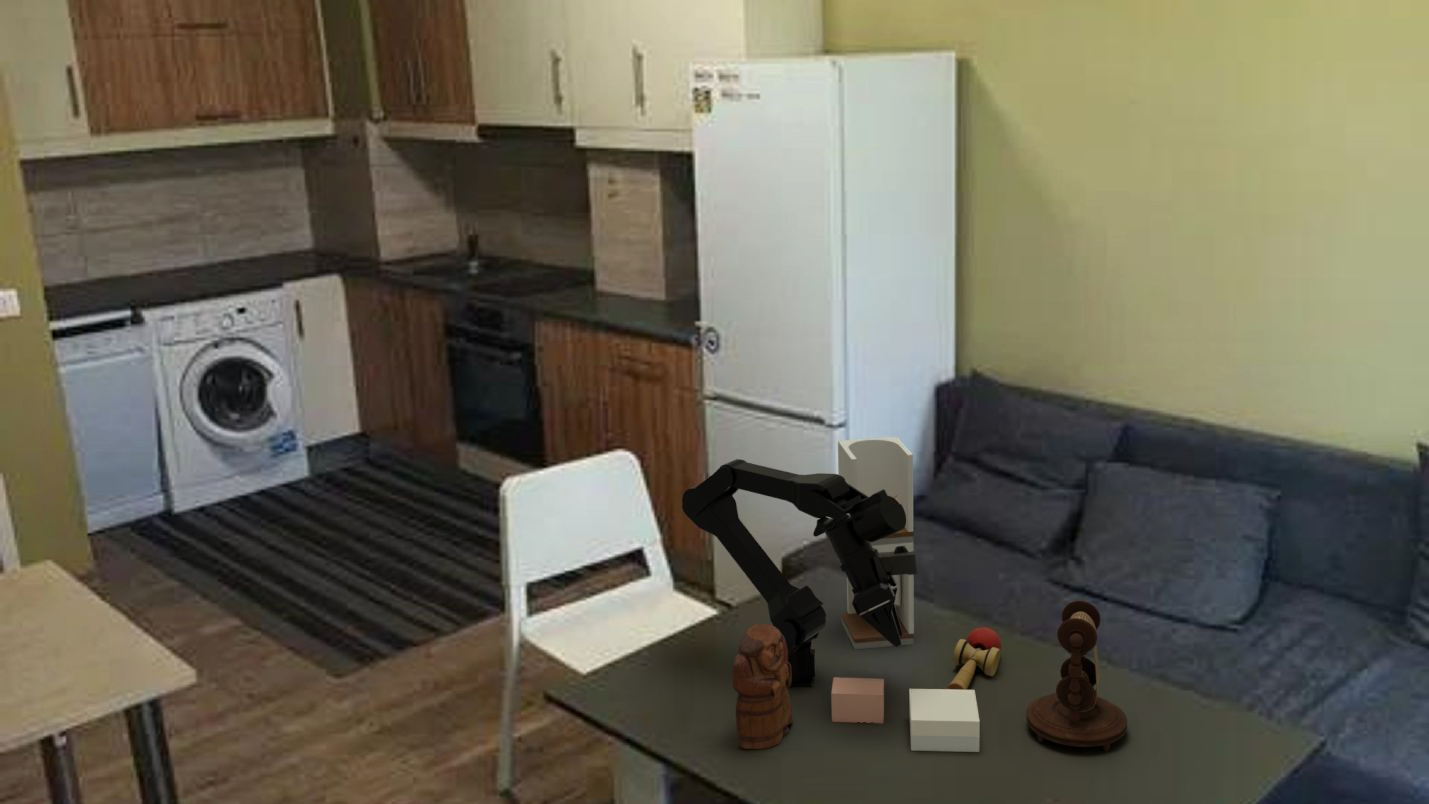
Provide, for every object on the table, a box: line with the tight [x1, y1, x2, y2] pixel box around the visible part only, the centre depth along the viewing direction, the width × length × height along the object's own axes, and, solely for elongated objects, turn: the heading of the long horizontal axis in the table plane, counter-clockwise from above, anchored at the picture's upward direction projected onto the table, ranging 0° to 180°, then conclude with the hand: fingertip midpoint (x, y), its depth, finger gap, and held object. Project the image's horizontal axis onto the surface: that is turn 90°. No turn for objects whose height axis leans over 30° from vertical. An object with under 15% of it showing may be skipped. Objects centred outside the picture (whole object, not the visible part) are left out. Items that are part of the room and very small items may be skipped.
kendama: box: [947, 627, 1002, 690], centre depth 214 cm, size 8×6×18 cm
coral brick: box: [830, 676, 885, 724], centre depth 203 cm, size 8×6×5 cm
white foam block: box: [908, 688, 981, 753], centre depth 196 cm, size 10×10×5 cm
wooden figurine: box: [731, 623, 793, 750], centre depth 197 cm, size 12×6×18 cm, turn 154°
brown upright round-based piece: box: [1025, 600, 1128, 752], centre depth 193 cm, size 15×15×20 cm
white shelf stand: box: [837, 436, 915, 650], centre depth 228 cm, size 11×11×35 cm
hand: (899, 640), depth 201 cm, fingers open, 9 cm apart
